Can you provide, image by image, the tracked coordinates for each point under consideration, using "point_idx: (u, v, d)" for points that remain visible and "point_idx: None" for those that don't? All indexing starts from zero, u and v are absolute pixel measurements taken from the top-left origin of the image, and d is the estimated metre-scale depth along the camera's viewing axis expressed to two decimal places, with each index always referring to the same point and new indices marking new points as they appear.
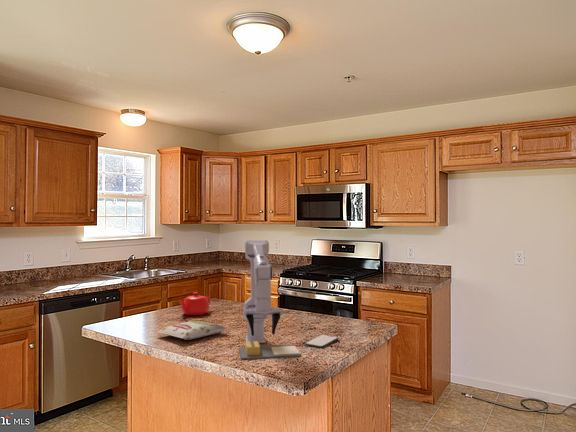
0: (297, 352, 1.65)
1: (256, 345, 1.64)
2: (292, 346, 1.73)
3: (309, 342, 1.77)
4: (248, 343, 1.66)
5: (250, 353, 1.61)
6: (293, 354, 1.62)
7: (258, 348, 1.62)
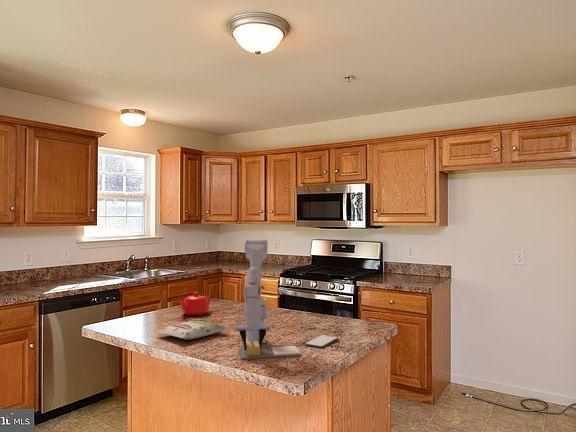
0: (297, 352, 1.65)
1: (256, 345, 1.64)
2: (292, 346, 1.73)
3: (308, 343, 1.77)
4: (248, 343, 1.66)
5: (250, 353, 1.61)
6: (293, 354, 1.62)
7: (258, 348, 1.62)
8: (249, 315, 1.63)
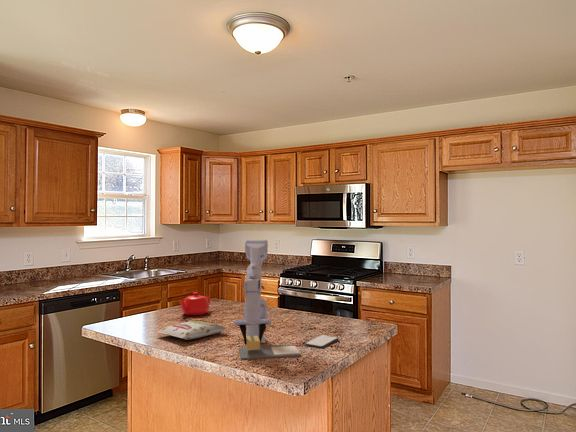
0: (297, 352, 1.65)
1: (256, 340, 1.64)
2: (292, 346, 1.73)
3: (308, 343, 1.77)
4: (248, 338, 1.66)
5: (250, 347, 1.61)
6: (293, 354, 1.62)
7: (258, 343, 1.62)
8: (249, 309, 1.63)
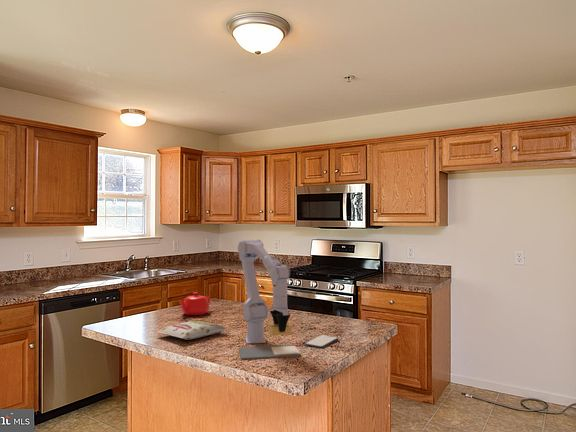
0: (297, 352, 1.65)
1: (275, 326, 1.65)
2: (292, 346, 1.73)
3: (308, 343, 1.77)
4: None
5: (269, 331, 1.67)
6: (293, 354, 1.62)
7: (271, 329, 1.64)
8: None
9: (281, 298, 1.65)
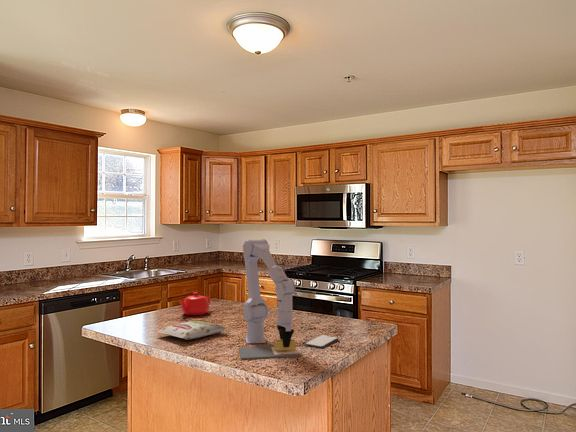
0: (297, 352, 1.65)
1: (280, 341, 1.66)
2: None
3: (308, 343, 1.77)
4: None
5: (274, 346, 1.68)
6: (293, 354, 1.62)
7: (275, 344, 1.65)
8: None
9: (285, 313, 1.65)
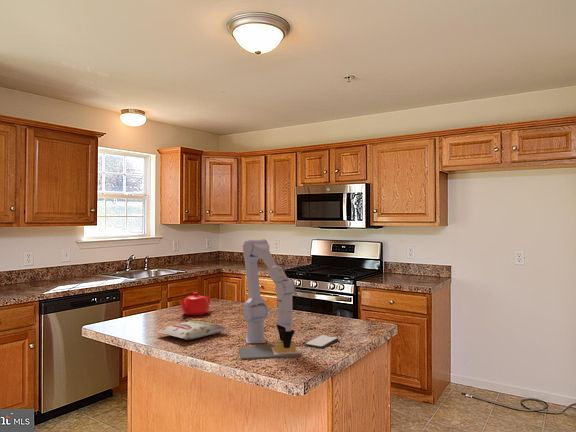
0: (297, 352, 1.65)
1: (280, 343, 1.66)
2: None
3: (308, 343, 1.77)
4: None
5: (274, 348, 1.68)
6: (293, 354, 1.62)
7: (275, 345, 1.65)
8: None
9: (285, 313, 1.65)
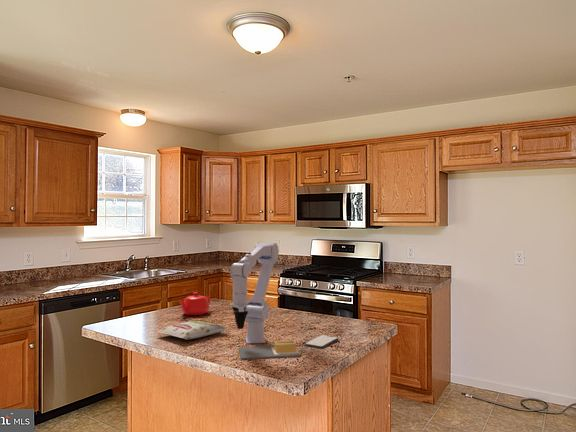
0: (297, 352, 1.65)
1: (280, 343, 1.66)
2: None
3: (308, 343, 1.77)
4: (286, 341, 1.69)
5: (274, 348, 1.68)
6: (293, 354, 1.62)
7: (275, 345, 1.65)
8: None
9: (239, 295, 1.68)
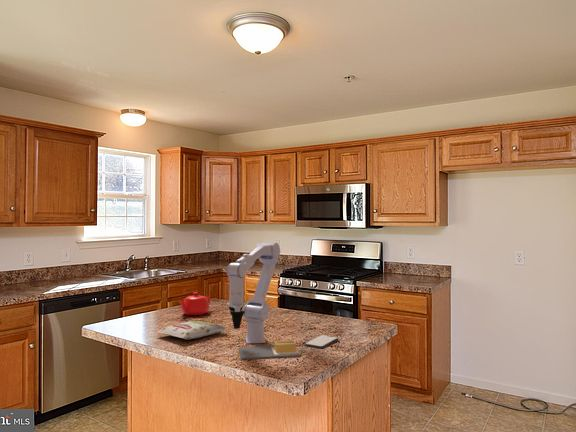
0: (297, 352, 1.65)
1: (280, 343, 1.66)
2: None
3: (308, 343, 1.76)
4: (286, 341, 1.69)
5: (274, 348, 1.68)
6: (293, 354, 1.62)
7: (275, 345, 1.65)
8: None
9: (236, 295, 1.68)
